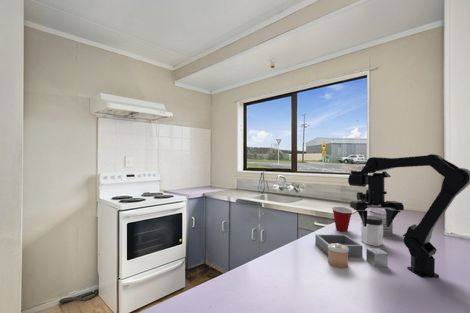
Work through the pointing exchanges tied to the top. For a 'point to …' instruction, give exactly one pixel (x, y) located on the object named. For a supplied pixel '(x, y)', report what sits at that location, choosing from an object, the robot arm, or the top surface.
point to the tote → (327, 239)
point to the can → (382, 214)
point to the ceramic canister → (338, 255)
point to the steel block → (377, 257)
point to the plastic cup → (342, 218)
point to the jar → (372, 231)
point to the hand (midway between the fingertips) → (376, 226)
